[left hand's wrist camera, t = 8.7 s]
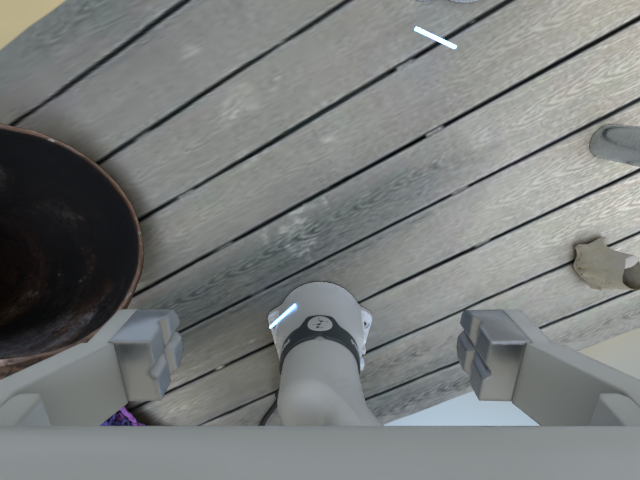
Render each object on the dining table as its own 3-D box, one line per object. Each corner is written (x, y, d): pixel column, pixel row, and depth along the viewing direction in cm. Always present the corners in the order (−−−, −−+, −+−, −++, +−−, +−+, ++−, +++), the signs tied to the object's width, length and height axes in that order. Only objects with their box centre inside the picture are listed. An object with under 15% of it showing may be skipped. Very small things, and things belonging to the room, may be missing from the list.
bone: (564, 240, 63) (576, 265, 55) (617, 227, 59) (639, 253, 51) (578, 284, 65) (591, 315, 57) (630, 275, 61) (653, 307, 53)
